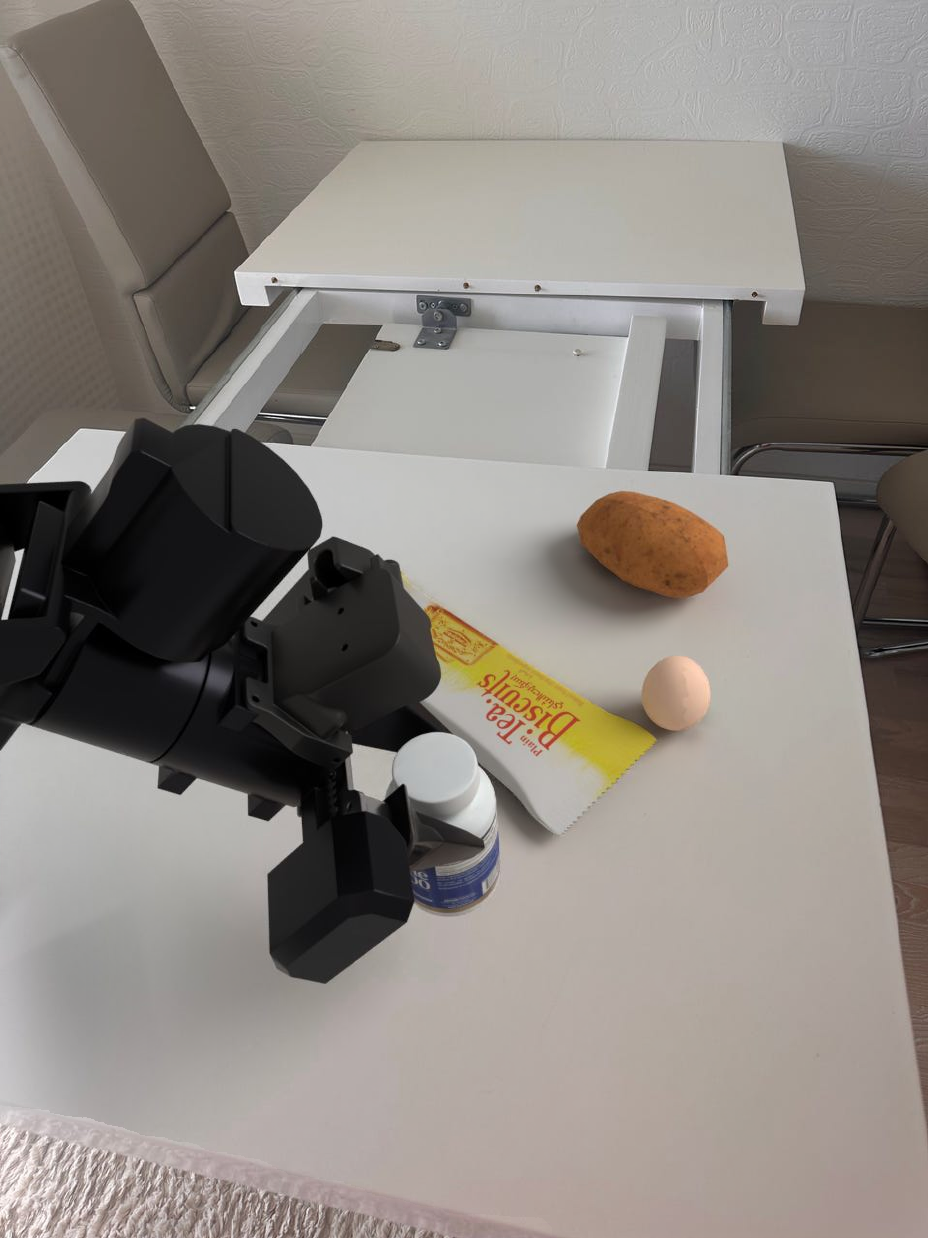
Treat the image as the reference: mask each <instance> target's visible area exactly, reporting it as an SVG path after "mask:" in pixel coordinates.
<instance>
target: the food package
mask: <svg viewBox="0 0 928 1238" xmlns="http://www.w3.org/2000/svg"><path fill="white" fill-rule="evenodd" d="M401 575H402V581H403V586H404V589H405V590H406V591H407V592H408V593H409V594H410V596H411V597H412V598H413V599H414V600H415V601H416V602H417V603H418V605H419V606H420V607H421V608H422V609H423V610H424V611H425V612H426V614H427V615H428V616H429V618H430V620H431V625H432V627H431V634H432V639H433V644H434V649H435V654H436V657H437V659H438V661H439V664H440V668H441V679H440V682H439V685H438V687H437V688H436V690H435V691H434V692H433V693H432V694H431V695H430V696H429V697H428V698H426V699H425V700H423V701H421V702H420V703H421V704H422V705H423V706H424V707H425V708H426V709H427V710H428V711H430V712H431V713H432V714H433V715H434V716H435V717H436V718H437V719H438V720H439V721H440V722H441V723H442V724H443V725H444V726H445V727H446V728H448V729H449V730H450V731H451V732H452V733H453V734H454V735H455V736H457V737H459V738H461V739H463V740H464V741H466V742H467V743H468V744H469V745H470V747H471V748H472V749H473V751H474V753H475V755H476V758H477V763H478V764H480V765H481V766H482V767H483V768H484V769H485V770H486V771H488V773H490V774H491V775H492V776H493V777H495V778H496V779H497V780H498V781H499V782H500V783H502V784H503V785H504V786H505V787H506V788H507V789H508V790H510V791H511V792H512V793H513V794H514V796H516V798H517V799H518V800H519V801H520V802H521V804H522V805H523V806H524V808H525V810H526V811H527V812H528V813H529V814H530V815H531V816H532V818H533V819H535V820H536V821H537V822H538V823H539V825H541V826H542V827H544V828H545V829H546V830H548V831H549V832H551V833H552V834H553V835H557V836H560V837H563V834H566V832H568V831H569V829H571V826H574V823H576V822H578V821H579V820H578V818H581V817H582V818H583V813H587V812H588V808H593V804H594V803H597V802H598V799H599V798H603V794H605V793H608V789H611V788H613V787H612V785H613V784H617V780H619V779H622V775H625V774H626V773H627V770H631V766H635V765H636V761H640V760H641V759H640V757H643V756H645V753H648V750H651V748H653V746H654V745H656V743H658V740H657V739H656V737H655V736H654V735H653V734H652V733H650V732H649V731H648V730H646V729H645V728H643V727H641V726H640V725H638V724H636V723H635V722H634V721H631V720H629V719H626V718H624V717H622V716H618V715H616V714H614V713H611V712H610V711H609V712H608V711H607V710H605V709H603V708H601V707H599V706H597V705H596V704H594V703H593V702H592V701H589V700H587V699H586V698H584V697H583V696H581V695H579V694H577V693H576V692H574V691H573V690H571V689H569V688H568V687H567V686H564V685H563V684H562V683H560V682H558V681H557V680H555V679H553V678H551V677H550V676H548V675H547V674H546V673H544V672H542V671H540V670H539V669H537V668H536V667H534V666H533V665H531V664H530V663H528V662H526V661H525V660H523V659H522V658H520V657H519V656H517V655H515V653H513V652H512V651H510V650H508V649H507V648H506V647H504V646H502V645H501V644H499V643H497V642H496V641H494V640H493V639H491V638H490V637H489V636H487V635H485V634H484V633H483V632H481V631H480V630H478V629H476V628H475V627H474V626H472V625H470V624H469V623H467V622H466V621H464V620H462V619H461V618H460V617H458V616H457V615H456V614H454V613H453V612H451V611H450V610H449V609H447V608H445V607H444V606H443V605H441V604H440V603H438V602H437V601H435V600H434V599H433V598H431V597H430V596H428V594H426V593H424V592H422V590H420V589H419V588H418V587H417V586H415V585H414V584H413V583H412V582H411V581H410V580H409V579H408V578H407V577H406V575H405V574H404V573H403V571H401Z"/></svg>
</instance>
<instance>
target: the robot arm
mask: <svg viewBox="0 0 928 1238" xmlns="http://www.w3.org/2000/svg"><path fill="white" fill-rule="evenodd" d="M322 530H323V517H322V513H321V511H320V508H319V504H318V502H317V500H316V499H315V497H314V495H313V493H312V492H311V490H310V488H309V487H308V485H307V484H306V482H304V480H303V479H302V477H300V475H299V474H298V473H297V472H296V471H295V469H294V468H292V466H291V465H290V464H289V463H288V462H287V461H285V460H284V458H282V457H281V456H280V455H279V454H277V453H276V452H275V451H274V450H273V449H271V448H270V447H269V446H267V445H266V444H264V443H263V442H261V441H260V440H258V439H256V438H255V437H254V436H252V435H250V434H248V433H247V432H244V431H242V430H240V429H238V428H235V427H234V428H231V430H227V429H224V428H221V427H218V426H215V425H209V424H201V423H195V424H186V425H183V426H181V427H179V428H178V429H176V430H174V431H173V432H172V431H171V430H168V429H167V428H165V427H163V426H161V425H159V424H157V423H156V422H153V421H152V420H149V418H146V417H139V418H138V417H137V418H135V419H134V420H133V421H132V422H131V424H130V426H129V427H128V428H127V430H126V431H125V433H124V434H123V436H122V438H121V439H120V440H119V442H118V445H117V446H116V450H115V452H114V456H113V459H112V462H111V464H110V466H109V468H108V469H107V471H106V472H105V473H104V475H103V476H102V478H101V479H100V480H99V482H98V484H97V485H96V486H95V487H94V489H93V490H92V487H91V486H90V484H88V483H87V482H86V481H82V480H69V481H66V480H65V481H46V482H45V481H44V482H43V481H42V482H23V483H21V482H19V483H1V484H0V752H1V751H2V750H3V749H4V747H5V746H6V744H7V743H8V742H9V741H10V739H11V738H12V737H13V735H14V734H15V733H16V732H17V730H18V729H19V728H20V727H21V725H22V724H24V725H27V726H30V727H33V728H36V729H40V730H43V731H46V732H49V733H53V734H56V735H59V736H62V737H65V738H68V739H72V740H75V741H78V742H81V743H84V744H87V745H90V746H94V747H97V748H99V749H103V750H105V751H106V750H107V751H110V752H113V753H116V754H120V755H122V756H125V757H128V758H132V759H135V760H138V761H141V762H145V763H148V764H150V765H154V766H157V767H158V774H157V786H156V787H157V789H158V790H161V791H165V792H168V793H172V794H175V795H179V796H181V795H183V793H184V792H185V791H186V790H187V789H188V788H189V787H190V786H191V785H193V783H194V782H195V781H196V780H197V779H199V780H202V781H205V782H208V783H210V784H211V783H212V784H214V785H217V786H220V787H224V788H227V789H231V790H233V791H236V792H240V793H243V794H247V816H248V817H252V818H255V819H259V820H262V821H265V822H270V821H271V820H272V819H273V818H275V816H276V815H278V813H280V811H282V809H284V807H286V806H287V807H291V808H296V815H297V817H298V818H300V819H301V834H302V842H301V843H300V844H299V845H298V846H297V847H296V848H295V849H294V850H292V852H290V853H289V854H288V855H287V856H286V857H285V858H284V859H282V861H280V862H278V864H277V865H276V866H274V867H273V868H272V869H271V870H270V871H268V873H266V878H267V879H266V880H267V881H266V882H267V911H268V912H267V914H268V915H267V918H268V919H267V920H268V951H269V952H268V953H269V955H270V958H271V961H272V962H273V963H274V966H275V968H276V970H278V971H280V972H281V973H283V974H284V975H287V976H288V977H290V978H294V979H298V980H302V981H303V980H304V981H309V982H314V983H319V984H325V985H326V984H328V983H329V982H330V981H332V980H333V979H335V977H337V976H338V975H340V974H341V973H342V972H344V971H345V970H346V969H347V968H349V967H350V966H351V965H353V964H354V963H356V962H357V961H359V959H361V958H362V957H363V956H365V955H366V954H367V953H368V952H370V951H371V950H373V949H374V948H375V947H377V946H378V945H380V944H381V943H382V942H383V941H385V940H386V939H387V938H389V937H390V936H392V935H393V934H395V932H396V931H398V930H399V929H400V928H401V927H403V926H405V925H406V924H407V923H408V922H409V918H410V915H411V913H412V911H413V908H414V907H413V906H414V905H415V904H414V901H415V900H414V893H413V886H412V879H411V873H410V872H413V871H418V870H422V869H427V868H431V867H436V866H440V865H445V864H449V863H454V862H458V861H463V860H468V859H471V858H473V857H475V856H476V855H477V854H479V853H480V852H481V851H483V850H484V849H485V844H484V841H483V840H482V839H481V838H479V837H477V836H475V835H473V834H472V833H470V832H468V831H466V830H464V829H461V828H459V827H456V826H454V825H451V824H448V823H446V822H443V821H441V820H438V819H435V818H433V817H430V816H428V815H425V814H422V813H420V812H417V811H415V810H413V809H412V808H411V806H410V801H409V796H408V791H407V787H406V785H405V784H402V785H401V786H399V787H398V788H397V789H396V790H395V791H394V792H392V793H391V794H390V795H389V796H388V797H387V798H386V799H385V798H384V799H383V800H381V799H380V800H379V799H376V798H374V797H372V796H369V795H366V794H365V793H364V792H363V791H360V790H358V789H355V786H354V777H353V768H352V758H351V756H352V755H353V753H354V749H353V745H358V746H362V747H367V748H371V749H376V750H382V751H388V752H392V753H396V754H397V753H398V751H399V750H400V749H401V747H402V746H403V745H405V744H406V743H407V742H408V741H410V740H411V739H413V738H415V737H417V736H420V735H423V734H427V733H434V732H443V733H448V734H452V735H454V734H453V733H452V732H451V731H450V730H449V729H448V728H446V727H445V726H444V725H443V724H442V723H441V722H440V721H439V720H438V719H437V718H436V717H435V716H434V715H433V714H432V713H431V712H430V711H428V710H427V709H426V708H425V707H424V706H423V705H422V704H421V703H420V702H421V701H423V700H425V699H426V698H428V697H429V696H430V695H431V694H432V693H433V692H434V691H435V690H436V688H437V687H438V685H439V682H440V679H441V668H440V664H439V661H438V659H437V657H436V654H435V649H434V644H433V639H432V634H431V627H432V625H431V620H430V618H429V616H428V615H427V614H426V612H425V611H424V610H423V609H422V608H421V607H420V606H419V605H418V603H417V602H416V601H415V600H414V599H413V598H412V597H411V596H410V594H409V593H408V592H407V591H406V590H405V589H404V586H403V581H402V575H401V572H402V571H401V566H400V563H399V562H398V561H397V560H394V559H383V558H382V556H381V555H380V554H379V553H377V554H375V553H374V552H372V550H370V549H368V548H366V547H364V546H361V545H358V544H356V543H353V542H350V541H348V540H345V539H342V538H340V537H338V536H331V537H329V538H328V539H326V540H324V541H322V542H321V543H319V544H317V545H315V544H316V543H317V542H318V540H319V539H320V538H321V537H322V536H321V535H322ZM314 545H315V546H314ZM313 546H314V547H313ZM21 550H22V551H23V552H22V556H21V561H20V564H19V569H18V573H17V577H16V581H15V585H14V589H13V594H12V598H11V602H10V606H9V610H8V615H7V619H5V618H4V619H2V618H3V614H4V610H5V607H6V602H7V598H8V594H9V590H10V586H11V582H12V579H13V575H14V574H13V573H14V570H15V567H16V566H15V565H16V561H17V560H16V553H15V552H18V551H21ZM304 556H306V557H307V565H308V567H307V568H308V569H307V570H306V571H305V572H304V573H303V574H302V576H300V578H298V580H297V581H296V582H295V583H294V585H292V587H291V588H289V590H288V591H287V592H286V594H284V596H283V597H282V598H281V599H280V600H279V601H278V602H277V603H276V604H275V606H274V607H273V608H272V609H271V610H270V611H269V612H268V613H267V615H265V616H264V618H263V619H262V620H261V619H258V618H257V617H254V616H252V615H254V613H255V612H256V611H257V610H258V608H260V606H261V605H263V603H264V602H265V601H266V599H267V598H269V596H270V595H271V594H272V593H273V592H274V591H275V590H276V588H278V586H279V585H280V584H281V582H283V581H284V579H285V578H286V577H287V576H288V575H289V574H290V572H292V570H293V569H294V568H295V567H296V566H297V564H298V563H299V562H300V561H301V560H302V559H303V558H304Z"/></svg>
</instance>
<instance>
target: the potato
mask: <svg viewBox="0 0 928 1238" xmlns="http://www.w3.org/2000/svg"><path fill="white" fill-rule="evenodd" d="M576 528H577V532H578V536H579V540H580V543H581V546H582V547H583V548H584V549H585V550H586V551H587V552H589V553H590V554H591V555H592V556H593V557H594V558H595V560H597V561H598V562H599V563H600V565H602V566H604V567H605V568H606V569H607V570H609V572H611V573H612V574H614V575H615V576H616V577H618V578H619V579H620V580H622V581H623V582H624V583H627V584H628V585H631V586H633V587H635V588H638V589H641V590H645V591H648V592H651V593H652V592H653V593H656V594H657V595H661V596H663V597H667V598H675V599H687V598H690V597H692V596H695V595H696V596H697V595H698V594H701V593H704V592H705V590H706V589H708V588H709V587H710V585H712V584H713V583H714V582H715V581H716V580H717V579H718V578H719V577H720V576H721V575H722V573H724V572H725V570H727V568H728V567H729V559H728V553H727V545H726V540H725V535H724V534H723V533H722V532H721V531H720V530H718V529H717V528H716V527H715V526H714V525H712V524H711V523H709V522H708V521H706V520H705V519H703V518H702V517H700V516H699V515H698V514H695V513H694V512H692V511H691V510H689V509H687V508H685V507H683V506H681V505H679V504H677V503H675V502H672V501H670V500H666V499H664V498H659V497H658V496H657V497H656V496H653V495H648V494H643V493H639V492H636V491H627V490H619V491H615V492H611V493H608V494H606V495H604V496H602V497H600V498H598V499H596V500H595V501H594V502H593V503H591V504H590V506H589V507H588V508H587V509H586V510H585V511H583V513H582V514H581V515H580V516H579V519H578V522H577V523H576Z"/></svg>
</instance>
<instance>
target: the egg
mask: <svg viewBox="0 0 928 1238" xmlns="http://www.w3.org/2000/svg"><path fill="white" fill-rule="evenodd" d="M710 686H711V685H710V682H709V678H708V677H707V675H706V672H704V670H703V668H702V667H701V666H700V665H699V664H698V663H697V662H696V661H695V660H693V659H691V658H690V657H687V656H683V655H670V656H666V657H665V658H663V659H661V660H659V661H658V662H656V664H654V665H653V666H652V667H651V668H650V669H649V671H647V674H646V675H645V678H644V680H643V683H642V687H641V704H642V707H643V710H644V712H645V713H646V715H647V716H648V717H649V719H650V720H651V721H652V722H653V723H654V724H655V725H656V726H658V727H660V728H662V729H665V730H669V731H676V732H677V731H678V732H679V731H685V730H687V729H690V728H692V727H694V726H696V725H697V724H698V723H699V722H700V721H701V720H702V719H703V718H704V717H705V716H706V714H707V711H708V709H709V706H710V702H711V687H710Z"/></svg>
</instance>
